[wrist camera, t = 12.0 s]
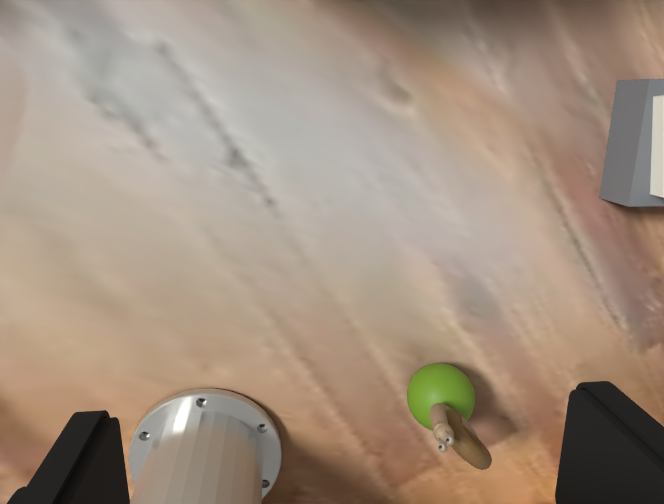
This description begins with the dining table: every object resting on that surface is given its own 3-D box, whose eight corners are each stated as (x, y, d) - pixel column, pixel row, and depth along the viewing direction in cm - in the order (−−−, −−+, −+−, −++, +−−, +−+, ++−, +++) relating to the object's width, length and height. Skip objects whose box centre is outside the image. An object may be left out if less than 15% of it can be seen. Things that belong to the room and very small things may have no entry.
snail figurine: (422, 333, 44) (475, 415, 33) (474, 375, 46) (540, 467, 34) (379, 378, 45) (415, 473, 33) (431, 418, 46) (482, 522, 35)
